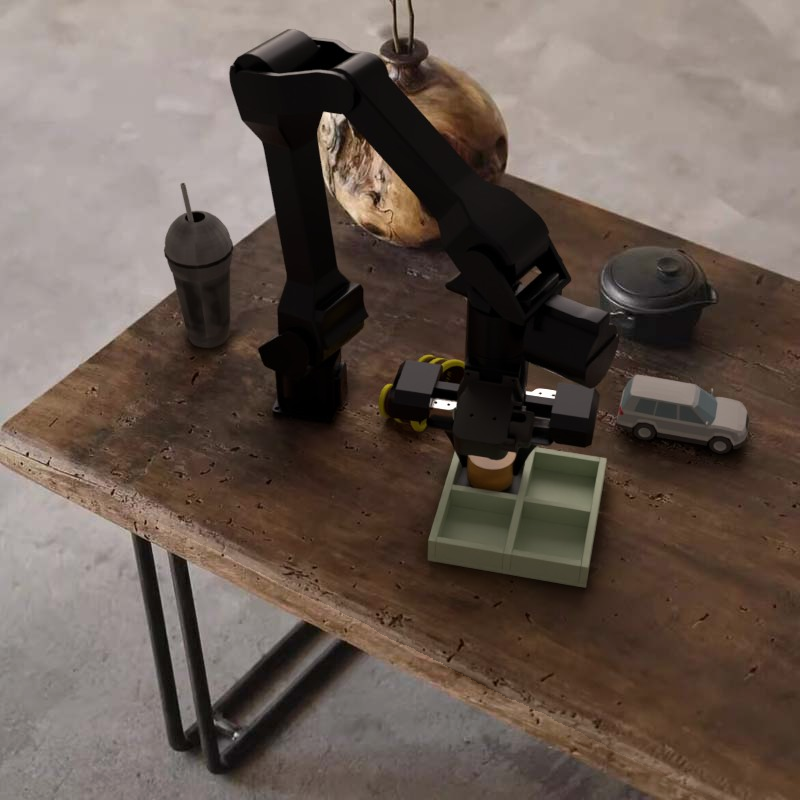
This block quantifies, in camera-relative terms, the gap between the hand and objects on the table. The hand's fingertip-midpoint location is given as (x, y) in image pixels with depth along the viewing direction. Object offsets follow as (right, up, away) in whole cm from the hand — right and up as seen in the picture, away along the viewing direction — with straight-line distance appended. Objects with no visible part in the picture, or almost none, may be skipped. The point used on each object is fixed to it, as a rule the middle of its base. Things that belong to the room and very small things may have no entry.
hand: (490, 468), depth 126 cm
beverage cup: (-30, +14, +20) cm, 38 cm away
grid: (+3, -5, -2) cm, 6 cm away
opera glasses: (-6, +6, +11) cm, 14 cm away
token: (0, -1, +1) cm, 1 cm away
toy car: (+20, +3, +8) cm, 22 cm away
